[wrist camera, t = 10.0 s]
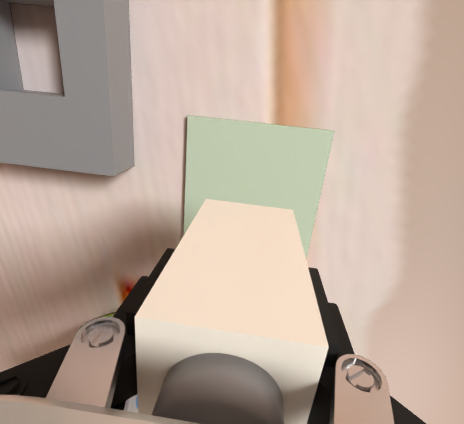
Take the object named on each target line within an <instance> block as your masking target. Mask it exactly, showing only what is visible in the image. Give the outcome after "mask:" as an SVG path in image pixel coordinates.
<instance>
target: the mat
mask: <svg viewBox="0 0 464 424" xmlns="http://www.w3.org/2000/svg"><path fill="white" fill-rule="evenodd" d="M333 135H334V131H332V130H323V129H313V128H304V127H294V126H285V125H275V124H266V123H256V122H247V121H237V120H228V119H218V118H209V117H199V116H190V115H188V117H187V148H186V178H185V209H184V234H185V233H186V231H187V229H188V228H189V226H190V224H191V223H192V221H193V219H194V218H195V216H196V214H197V213H198V211H199V209H200V208H201V206H202V205H203V203H204V201H205V200H206V199H212V200H220V201H228V202H236V203H244V204H252V205H260V206H268V207H276V208H284V209H292V210H293V211H294V215H295V219H296V223H297V226H298V230H299V234H300V238H301V242H302V246H303V250H304V253H305V257H306V259H307V254H308V250H309V245H310V241H311V236H312V231H313V227H314V222H315V218H316V213H317V209H318V204H319V199H320V195H321V190H322V186H323V181H324V177H325V172H326V167H327V163H328V158H329V154H330V149H331V145H332V140H333Z"/></svg>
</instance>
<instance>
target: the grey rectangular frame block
mask: <svg viewBox="0 0 464 424" xmlns="http://www.w3.org/2000/svg"><path fill="white" fill-rule="evenodd" d="M9 3H18V4H31V5H43V6H54V8H55V17H56V25H57V34H58V42H59V51H60V60H61V68H62V77H63V85H64V94H57V93H48V92H38V91H28V90H23V83H22V77H21V71H20V65H19V59H18V53H17V47H16V41H15V35H14V29H13V23H12V17H11V11H10V5H9ZM0 163H8V164H16V165H24V166H32V167H41V168H49V169H57V170H65V171H74V172H82V173H90V174H98V175H107V176H116V175H118V174H120V173H122V172H124V171H126V170H128V169H130V168H131V167H133V166H134V141H133V112H132V84H131V56H130V27H129V0H0Z"/></svg>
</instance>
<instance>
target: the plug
mask: <svg viewBox="0 0 464 424" xmlns="http://www.w3.org/2000/svg"><path fill="white" fill-rule="evenodd" d="M135 341H136V367H137V393H138V413H141V414H147V415H153V416H159V417H165V418H170V419H176V420H182V421H188V422H193V423H199V424H307V421H308V417H309V414H310V410H311V407H312V403H313V400H314V396H315V393H316V390H317V386H318V383H319V379H320V376H321V372H322V369H323V365H324V362H325V358H326V355H327V351H328V348H329V346H328V342H327V338H326V334H325V331H324V327H323V323H322V319H321V315H320V311H319V307H318V304H317V300H316V296H315V292H314V288H313V284H312V280H311V277H310V273H309V269H308V265H307V261H306V257H305V253H304V250H303V246H302V242H301V238H300V234H299V230H298V226H297V223H296V219H295V215H294V211H293V210H292V209H284V208H276V207H268V206H260V205H252V204H244V203H236V202H228V201H220V200H212V199H206V200H205V201H204V203H203V205H202V206H201V208H200V209H199V211H198V213H197V214H196V216H195V218H194V219H193V221H192V223H191V224H190V226H189V228H188V229H187V231H186V233H185V234H184V236H183V238H182V239H181V241H180V243H179V244H178V246H177V248H176V249H175V251H174V253H173V254H172V256H171V258H170V259H169V261H168V262H167V264H166V266H165V267H164V269H163V271H162V272H161V274H160V276H159V277H158V279H157V281H156V282H155V284H154V286H153V287H152V289H151V291H150V292H149V294H148V296H147V297H146V299H145V301H144V302H143V304H142V306H141V307H140V309H139V311H138V312H137V314H136V315H135Z"/></svg>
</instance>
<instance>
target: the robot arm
mask: <svg viewBox="0 0 464 424" xmlns="http://www.w3.org/2000/svg"><path fill="white" fill-rule="evenodd" d="M174 251H175V249H170V248H168V249H167V250H166V251H165V253H164V254H163V256H162V257H161V259H160V261H159V262H158V264H157V265H156V267H155V268H154V270H153V271H152V273H151V274H150V276H149V277H147V276H142V277H141V278H140V279H139V280H138V282H137V283H136V285H135V286H134V288H133V289H132V290H131V292H130V293H129V295H128V296H127V297H126V299H125V300H124V302H123V303H122V305H121V306H120V307H119V309H118V310H117V312H116V313H115V315H114V316H113V317H100V318H96V319H93V320H91V321H89V322H87V323H85V324H84V325H83V326H82V327H81V328H80V329H79V330H78V332H77V333H76V335H75V337H74V339H73V341H72V343H71V345H68V346H66V347H63V348H61V349H58V350H56V351H53V352H50V353H48V354H45V355H43V356H40V357H38V358H35V359H33V360H30V361H28V362H25V363H23V364H20V365H18V366H15V367H13V368H10V369H8V370H5V371H3V372H0V424H199V423H193V422H188V421H182V420H176V419H170V418H165V417H159V416H153V415H147V414H141V413H135V412H129V411H127V409H128V404H129V398H131V397H133V396H135V395H137V394H138V393H137V367H136V341H135V315H136V314H137V312H138V311H139V309H140V307H141V306H142V304H143V302H144V301H145V299H146V297H147V296H148V294H149V292H150V291H151V289H152V287H153V286H154V284H155V282H156V281H157V279H158V277H159V276H160V274H161V272H162V271H163V269H164V267H165V266H166V264H167V262H168V261H169V259H170V258H171V256H172V254H173V253H174ZM308 269H309V273H310V277H311V280H312V284H313V288H314V292H315V296H316V300H317V304H318V307H319V311H320V315H321V319H322V323H323V327H324V331H325V334H326V338H327V342H328V346H329V348H328V351H327V355H326V358H325V362H324V365H323V369H322V372H321V376H320V379H319V383H318V386H317V390H316V393H315V396H314V400H313V403H312V407H311V410H310V414H309V417H308V421H307V423H308V424H426V423H425V422H423V421H422V420H421V419H419V418H418V417H417V416H416V415H414V414H413V413H412V412H411V411H409V410H408V409H407V408H405V407H404V406H403V405H402V404H400V403H399V402H398V401H396V400H395V399H394V398H392V397H391V396H390V394H389V388H388V383H387V380H386V377H385V375H384V374H383V372H382V371H381V370H380V369H379V368H378V367H377V366H376V365H375V364H374V363H373V362H371V361H370V360H368V359H366V358H364V357H362V356H359V355H355V354H354V351H353V348H352V346H351V343H350V340H349V337H348V334H347V331H346V329H345V326H344V323H343V320H342V317H341V314H340V312H339V309H338V306H337V305H336V304H334V303H328V301H327V298H326V295H325V291H324V288H323V285H322V282H321V278H320V275H319V272H318V269H316V268H309V267H308Z"/></svg>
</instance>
